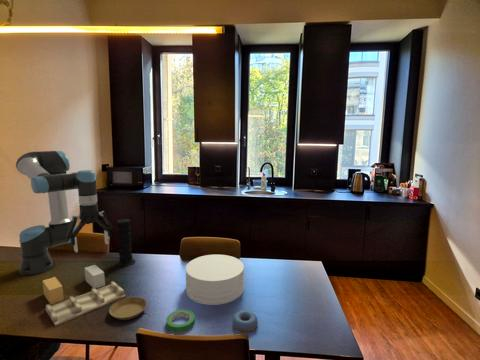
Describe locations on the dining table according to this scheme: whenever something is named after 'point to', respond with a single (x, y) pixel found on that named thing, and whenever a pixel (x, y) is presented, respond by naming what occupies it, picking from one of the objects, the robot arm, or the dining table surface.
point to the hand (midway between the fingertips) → (91, 247)
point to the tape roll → (180, 327)
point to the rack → (84, 303)
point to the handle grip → (124, 243)
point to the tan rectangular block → (53, 290)
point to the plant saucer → (128, 308)
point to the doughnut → (245, 321)
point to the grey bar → (94, 276)
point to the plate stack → (214, 279)
